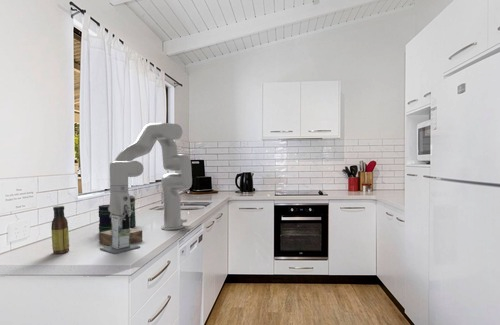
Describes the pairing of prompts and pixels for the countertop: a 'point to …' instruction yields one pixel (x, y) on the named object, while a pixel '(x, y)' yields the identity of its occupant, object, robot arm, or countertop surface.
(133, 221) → the coffee jar
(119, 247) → the syrup box
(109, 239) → the pocket block
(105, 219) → the storage jar
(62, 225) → the sauce bottle
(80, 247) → the countertop surface
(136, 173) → the robot arm
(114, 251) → the mat
